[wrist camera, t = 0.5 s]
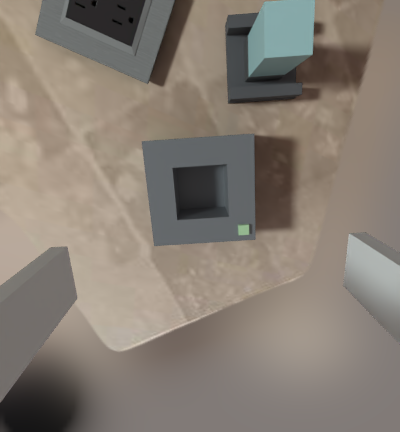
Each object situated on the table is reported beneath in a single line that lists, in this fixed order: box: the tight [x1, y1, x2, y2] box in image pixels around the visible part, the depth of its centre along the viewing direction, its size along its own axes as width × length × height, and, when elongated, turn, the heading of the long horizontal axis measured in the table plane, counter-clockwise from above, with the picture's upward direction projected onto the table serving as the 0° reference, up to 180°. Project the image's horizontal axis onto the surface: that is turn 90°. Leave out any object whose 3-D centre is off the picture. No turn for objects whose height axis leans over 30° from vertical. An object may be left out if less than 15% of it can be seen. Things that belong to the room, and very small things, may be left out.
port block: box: [142, 134, 255, 246], centre depth 34 cm, size 12×12×6 cm
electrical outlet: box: [35, 0, 175, 84], centre depth 31 cm, size 13×10×2 cm
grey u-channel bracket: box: [225, 13, 302, 103], centre depth 31 cm, size 8×8×3 cm
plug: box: [244, 0, 315, 82], centre depth 27 cm, size 4×4×10 cm
